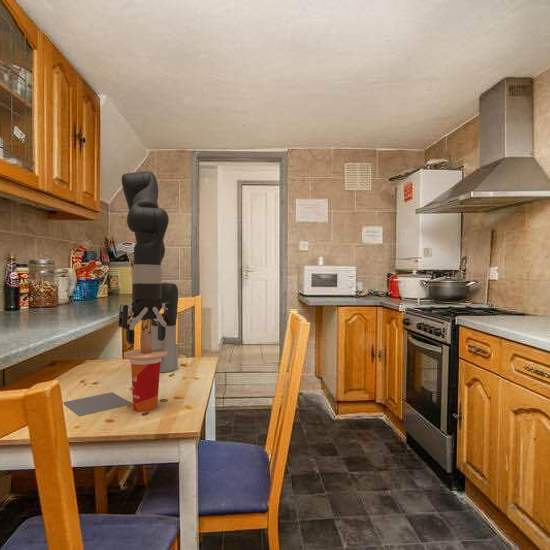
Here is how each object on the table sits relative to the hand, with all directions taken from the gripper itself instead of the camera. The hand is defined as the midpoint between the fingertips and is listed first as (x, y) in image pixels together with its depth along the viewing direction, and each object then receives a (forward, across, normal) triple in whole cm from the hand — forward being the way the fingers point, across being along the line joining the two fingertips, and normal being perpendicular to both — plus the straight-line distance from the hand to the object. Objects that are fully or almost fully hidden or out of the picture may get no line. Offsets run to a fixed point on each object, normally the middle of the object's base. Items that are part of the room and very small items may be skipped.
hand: (146, 342), depth 105 cm
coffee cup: (+19, 0, 0) cm, 19 cm away
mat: (+19, +8, -12) cm, 24 cm away
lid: (+4, 0, 0) cm, 4 cm away
